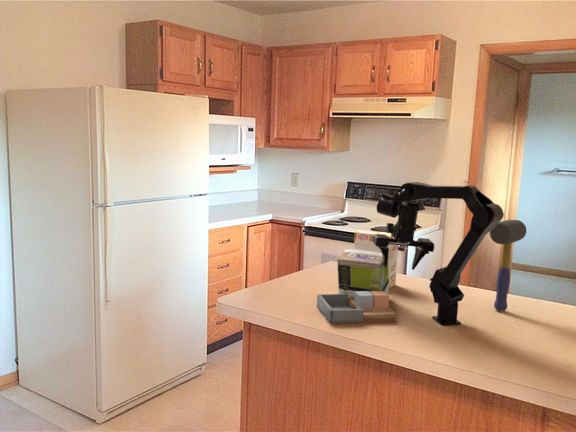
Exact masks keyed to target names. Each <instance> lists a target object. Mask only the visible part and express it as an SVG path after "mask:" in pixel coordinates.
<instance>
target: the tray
mask: <svg viewBox="0 0 576 432" xmlns="http://www.w3.org/2000/svg"><path fill="white" fill-rule="evenodd" d="M316 299H317V300H316V308H318V310H319V311H320V312H321V314H322V315H323V316H324V318H325V319H326V320H327V322H328V323H329V324H330V325H336V324H337V325H338V324H364V323H363V313H364V310H363V309H351V308H350V306H349V305H348V294H339V293H323V294H322V293H318V294H317V297H316Z"/></svg>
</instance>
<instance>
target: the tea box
mask: <svg viewBox="0 0 576 432" xmlns="http://www.w3.org/2000/svg"><path fill="white" fill-rule="evenodd" d="M337 278H338V279H337V280H338V282H337V283H338V294H348V298H355V291H369V292H370V291H384V292H386V293H387V294H388V293H389V289H390V288H389V262H388V261H387V266H386V267H384V262H383V256H382V252H379V251H370V250H361V249H354V248H350V247H346V248H345V249H344V250H343V252H342V253H341V254H340V256H339V257H338V258H337Z"/></svg>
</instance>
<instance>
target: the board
mask: <svg viewBox="0 0 576 432" xmlns="http://www.w3.org/2000/svg"><path fill="white" fill-rule="evenodd" d="M348 305H349V306H350V308H351V309H363V310H364V313H363V323H362V324H367V323H396V321H397V320H396V319H397V318H396V317H397V314H396V312H394V311H393V310H392V309H391V308H390V307H389V306H388V308H374V307H373V308H358V307H357V306H356V305H355V304H354V298H348Z"/></svg>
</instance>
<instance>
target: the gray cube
mask: <svg viewBox="0 0 576 432" xmlns="http://www.w3.org/2000/svg"><path fill="white" fill-rule="evenodd" d="M373 296H374V295H372V294H371V293H370V292H369V291H355V298H354V304H355V305H356V306H357V307H358V308H373Z"/></svg>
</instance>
